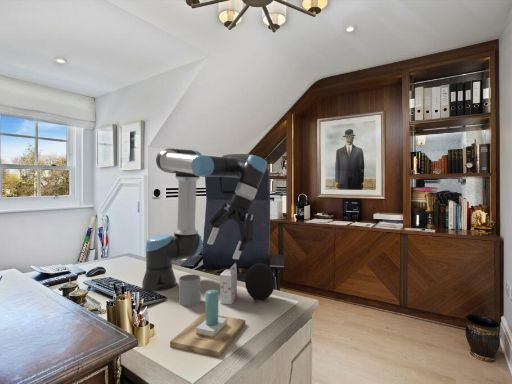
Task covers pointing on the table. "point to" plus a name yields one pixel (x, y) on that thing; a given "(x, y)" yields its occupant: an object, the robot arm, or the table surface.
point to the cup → (189, 290)
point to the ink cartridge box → (228, 285)
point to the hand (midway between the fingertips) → (222, 251)
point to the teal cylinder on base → (211, 317)
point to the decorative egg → (260, 281)
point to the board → (207, 344)
